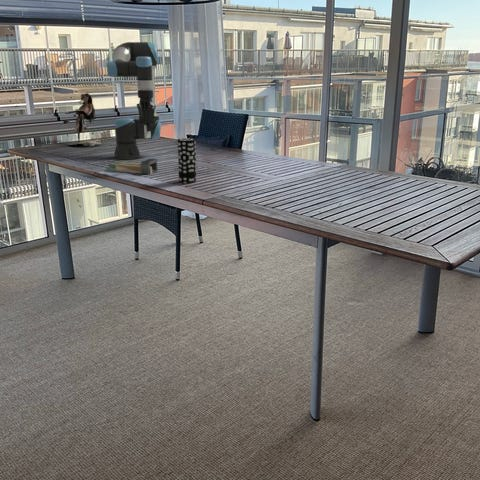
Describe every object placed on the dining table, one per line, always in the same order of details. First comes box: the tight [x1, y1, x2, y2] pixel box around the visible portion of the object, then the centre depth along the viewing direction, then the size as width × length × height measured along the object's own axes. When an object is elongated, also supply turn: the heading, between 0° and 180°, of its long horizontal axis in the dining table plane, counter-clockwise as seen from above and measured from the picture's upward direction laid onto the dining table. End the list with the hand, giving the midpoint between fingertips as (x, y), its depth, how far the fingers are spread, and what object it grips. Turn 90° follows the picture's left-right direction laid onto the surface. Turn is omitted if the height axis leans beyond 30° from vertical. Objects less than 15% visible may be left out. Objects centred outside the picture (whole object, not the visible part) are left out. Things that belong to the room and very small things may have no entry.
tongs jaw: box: [112, 161, 141, 166], centre depth 271 cm, size 4×20×4 cm, turn 69°
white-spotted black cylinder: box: [177, 137, 197, 184], centre depth 244 cm, size 8×8×20 cm
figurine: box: [62, 92, 104, 148], centre depth 348 cm, size 25×24×35 cm
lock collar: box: [140, 158, 158, 175], centre depth 266 cm, size 10×4×6 cm, turn 161°
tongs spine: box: [108, 162, 153, 175], centre depth 268 cm, size 5×24×4 cm, turn 71°
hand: (147, 137), depth 262 cm, fingers closed
